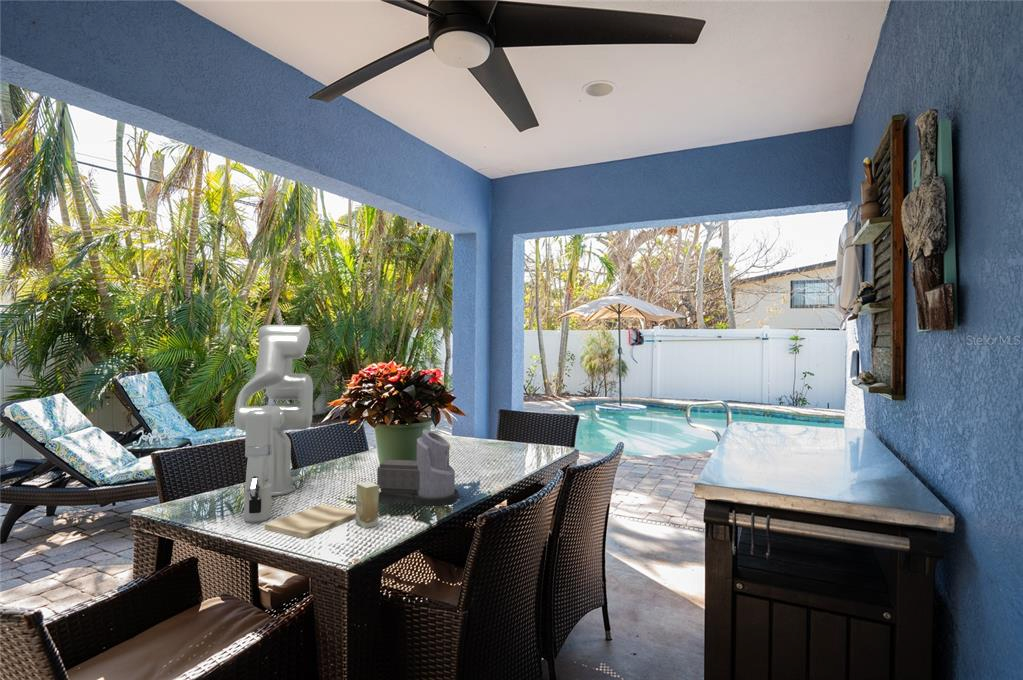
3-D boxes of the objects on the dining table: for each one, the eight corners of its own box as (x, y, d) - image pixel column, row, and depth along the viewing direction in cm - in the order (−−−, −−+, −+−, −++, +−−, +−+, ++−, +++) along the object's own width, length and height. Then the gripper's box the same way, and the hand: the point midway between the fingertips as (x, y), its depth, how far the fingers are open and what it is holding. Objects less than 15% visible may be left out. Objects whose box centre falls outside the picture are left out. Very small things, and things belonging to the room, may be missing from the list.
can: (264, 514, 170) (264, 475, 170) (275, 519, 165) (276, 480, 165) (239, 519, 164) (240, 480, 164) (251, 525, 159) (251, 484, 160)
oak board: (321, 508, 176) (321, 504, 176) (359, 516, 169) (360, 511, 169) (264, 529, 156) (264, 524, 156) (305, 538, 149) (305, 533, 149)
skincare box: (354, 523, 163) (355, 482, 163) (367, 520, 166) (368, 480, 166) (365, 529, 158) (366, 487, 158) (378, 525, 161) (379, 484, 161)
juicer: (466, 495, 194) (467, 427, 194) (456, 509, 178) (457, 434, 178) (385, 491, 198) (386, 424, 198) (368, 504, 182) (370, 431, 182)
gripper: (251, 445, 172) (250, 501, 172) (238, 457, 155) (237, 518, 155) (277, 444, 174) (276, 499, 174) (266, 456, 157) (265, 516, 157)
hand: (257, 508), depth 165 cm, fingers closed on can, 7 cm apart
